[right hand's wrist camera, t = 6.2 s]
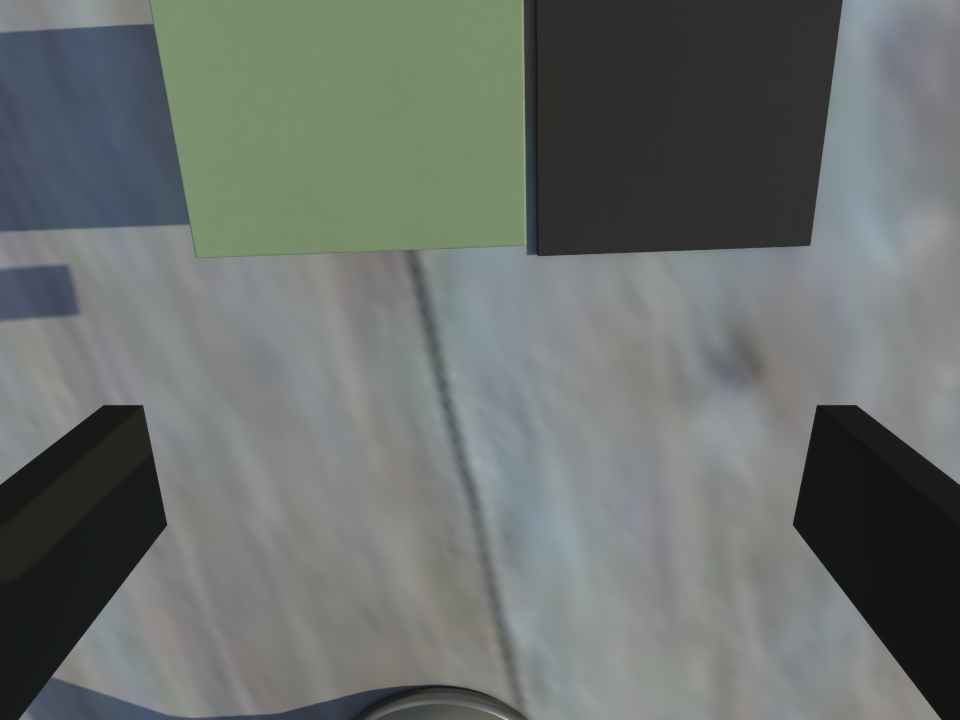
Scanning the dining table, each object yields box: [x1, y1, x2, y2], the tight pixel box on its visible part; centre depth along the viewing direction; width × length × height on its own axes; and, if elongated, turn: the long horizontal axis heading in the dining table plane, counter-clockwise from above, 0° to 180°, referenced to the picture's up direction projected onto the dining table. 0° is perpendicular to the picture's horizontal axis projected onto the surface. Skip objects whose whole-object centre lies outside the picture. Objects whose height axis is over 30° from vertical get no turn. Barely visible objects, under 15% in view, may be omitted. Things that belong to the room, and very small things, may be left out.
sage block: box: [149, 0, 526, 258], centre depth 23 cm, size 9×11×7 cm
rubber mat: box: [536, 0, 843, 256], centre depth 31 cm, size 14×14×1 cm
